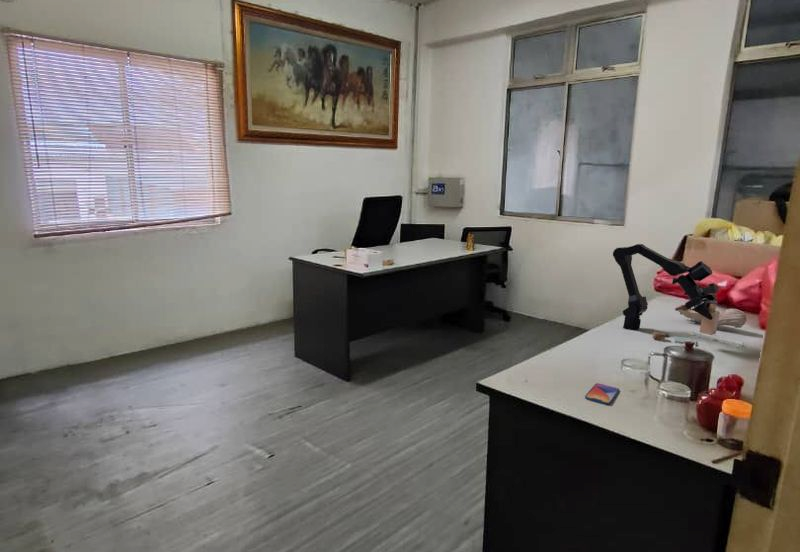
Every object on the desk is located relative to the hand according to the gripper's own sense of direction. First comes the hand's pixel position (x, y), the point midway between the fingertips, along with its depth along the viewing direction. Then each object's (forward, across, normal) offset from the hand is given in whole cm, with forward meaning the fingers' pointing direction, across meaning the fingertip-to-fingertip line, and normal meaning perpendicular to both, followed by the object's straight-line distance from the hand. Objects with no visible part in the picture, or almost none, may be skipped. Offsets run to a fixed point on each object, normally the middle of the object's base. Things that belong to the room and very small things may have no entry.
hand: (714, 318), depth 204 cm
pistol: (+8, +21, +12) cm, 25 cm away
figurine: (-1, +40, +20) cm, 44 cm away
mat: (+2, +1, +16) cm, 17 cm away
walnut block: (-3, -6, +22) cm, 23 cm away
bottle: (+4, 0, +6) cm, 7 cm away
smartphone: (+10, -85, +9) cm, 86 cm away
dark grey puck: (-5, +2, +24) cm, 24 cm away
